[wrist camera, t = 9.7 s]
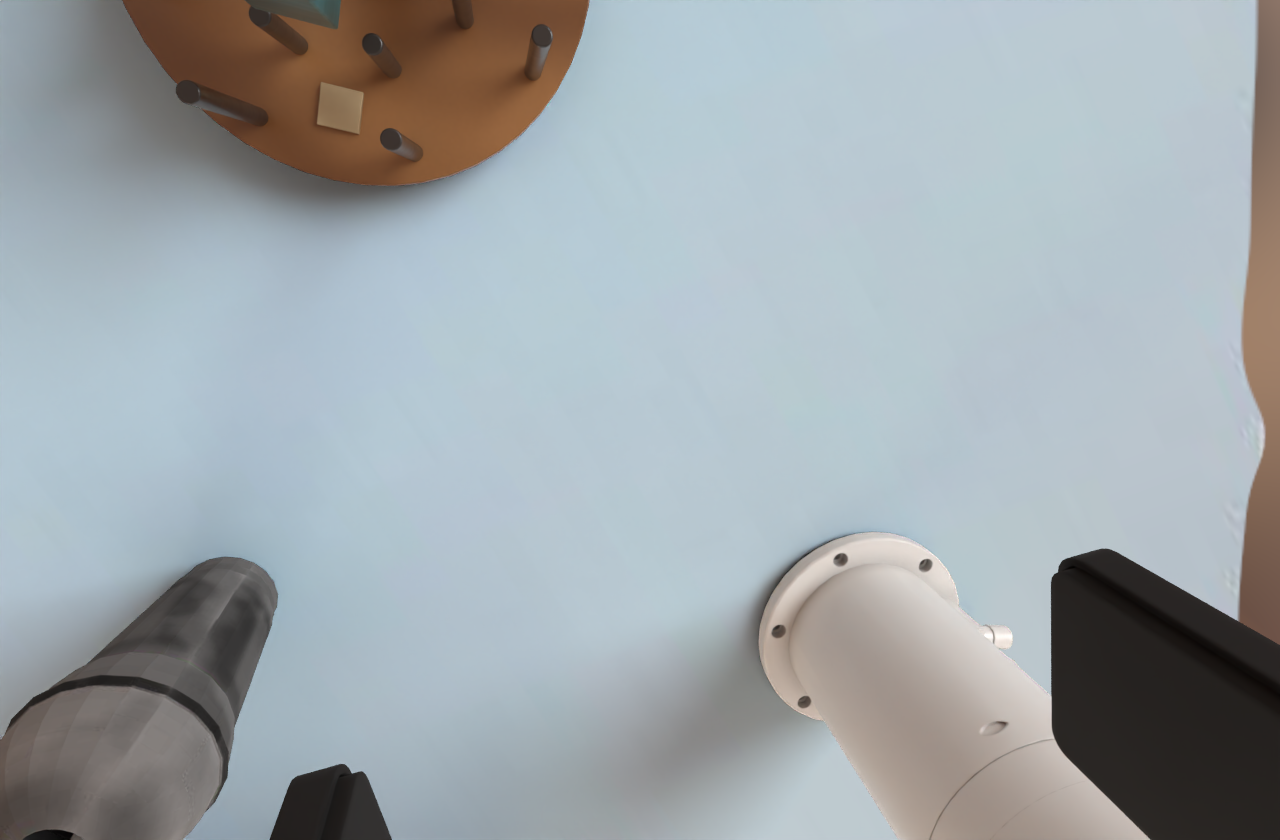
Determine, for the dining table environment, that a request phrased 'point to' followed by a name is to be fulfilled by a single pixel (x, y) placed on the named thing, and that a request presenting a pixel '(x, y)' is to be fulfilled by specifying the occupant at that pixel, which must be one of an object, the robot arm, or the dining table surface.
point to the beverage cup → (141, 718)
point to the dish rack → (367, 77)
